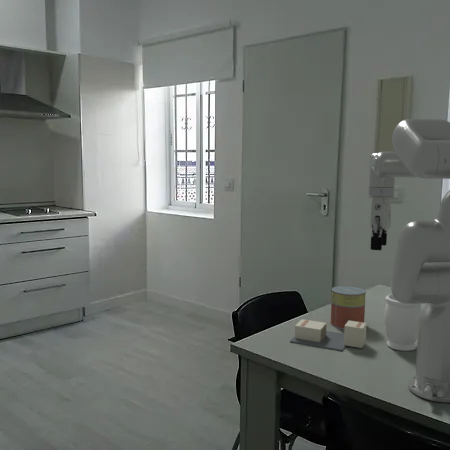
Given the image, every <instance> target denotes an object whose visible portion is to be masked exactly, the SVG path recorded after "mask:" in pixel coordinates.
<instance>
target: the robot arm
mask: <svg viewBox="0 0 450 450" xmlns="http://www.w3.org/2000/svg"><path fill="white" fill-rule="evenodd" d="M391 142H392V147H393V150H394V151H379V152H373V153H372V154H371V155H370V158H369V178H368V180H369V181H368V198H371V206H370V229H371V234H370V235H371V236H370V250H372V251H382V249H383V248H382V247H383V246H387V239H388V238H387V237H388V233H387V232H388V229H390V228H391V223H392V221H391V220H392V219H391V218H392V217H391V216H392V199H394V197H395V183H396V181H395V179H396V178H416V177H417V178H419V179H423V180H424V179H425V180H426V179H428V180H429V179H430V180H431V179H432V180H435V179H436V180H437V179H438V180H448V179H450V121H448V120H445V119H442V118H441V119H440V118H439V119H438V118H406V119H404V120H401V121H400V122H399V123H398V124H397V125H396V126H395V128H394V129H393V132H392V136H391ZM437 213H438V214H437V217H435V218H434V219H432V220H413V221H410V222H408V223H407V224H405V225H404V227H402V229H401V230H400V234H399V236H398V239H397V245H396V250H395V256H394V260H393V266H392V271H391V277H390V291H391V294H393V296H394V298H395V299H396V300H397V301H399V302H401V303H408V304H421V305H422V304H425V306H424V307H423V308H422V309H421V310H422V312H421V314H420V317H419V326H418V338H417V341H416V342H417V344H416V358H415V359H416V360H415V361H416V362H415V376H413V377H411V378H410V379H408V383H407V387H408V389H409V391H410V392H412V393H413V394H414V395H416V396H417V397H420V398H423V399H425V400H428V401H432V402H437V403H450V189H449V190H448V191H447V192H446V193H445V195H444V196H443V197H442V199H441V202H440V204H439V210H438V212H437Z"/></svg>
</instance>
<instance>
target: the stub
mask: <svg viewBox="0 0 450 450" xmlns="http://www.w3.org/2000/svg"><path fill="white" fill-rule="evenodd" d="M367 323H368V322H367ZM367 323H366V322H364V323H363V322H356V321H348V322H347V323H346V325H345V329H343V331H344V333H343V334H344V345H346V346H348V347H354V348H359V349H363V347H365V346H364V345H365V344H366V343H367V342H366V341H367V340H366V339H367ZM346 346H345V347H346Z"/></svg>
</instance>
